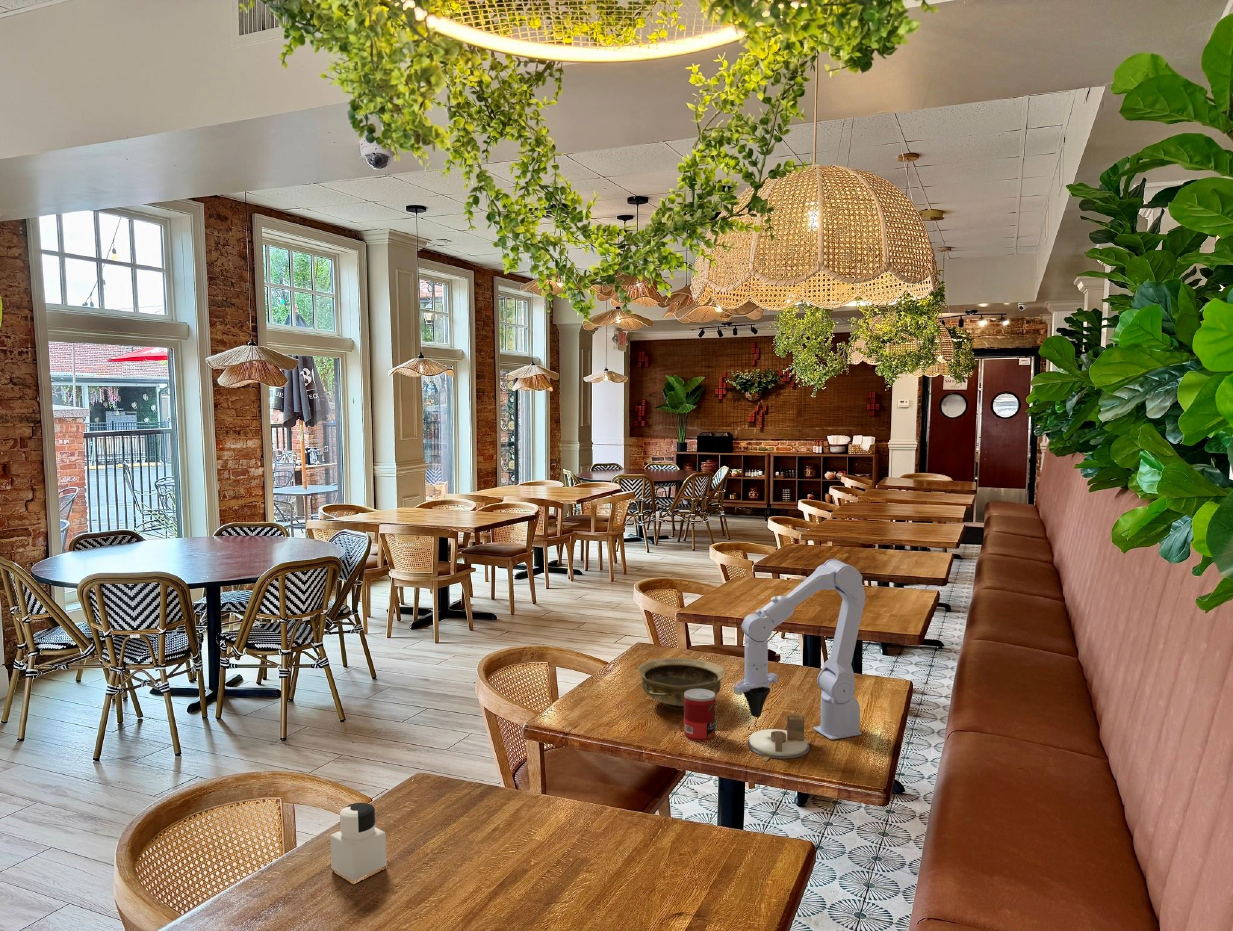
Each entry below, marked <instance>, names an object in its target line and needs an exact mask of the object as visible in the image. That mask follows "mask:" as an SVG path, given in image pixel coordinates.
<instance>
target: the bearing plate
mask: <svg viewBox="0 0 1233 931" xmlns="http://www.w3.org/2000/svg"><path fill="white" fill-rule="evenodd" d="M746 745H747V748H748V749H749V750H750V751H751V752H753V753H754V754H757V755H759V756H762V757H765V756H767V757H770V759H774V760H775V759H777V760H790V759H797V758H801V757H803V756H806V755H807V754H808V753H809V752H810V745H809V743H808V742H807V750H806V751H805V752H803V753H801V754H799V755H795V756H772V755H767V754H763V753H760V752H758V751H756V750H754V749H753V748H752V747H751V746H750V743H749V739H748V740H747V744H746Z"/></svg>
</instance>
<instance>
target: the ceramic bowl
mask: <svg viewBox="0 0 1233 931" xmlns="http://www.w3.org/2000/svg"><path fill="white" fill-rule="evenodd" d="M637 669H638V670H637V672H638V674H639V676H640V677H641V686H642V687H641V688H642V689H643V690H644V692H645V694H647V696H649V697H650V698H652V699H653V700H655V701H658V702H660V703H662V704H665V706H666V707H667V708H669V709H671V710H675V711H684V693H685V691H687V690H690V689H707V690H710V691H713V692H714V693H715V696H716V697H717V695H718V694H719V692H720V691H721V686H722V685H721V684H722V683H721V680H723V679H724V677H726V676H725V675H726V671H725V670H724V669H723V667H721V665H718V664H716V663H715V662H710V661H706V660H701V659H695V658H684V657H667V658H659V659H654V660H650V661H646V662H644V663H642V664H640V666H639V667H638V668H637Z"/></svg>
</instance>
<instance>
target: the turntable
mask: <svg viewBox="0 0 1233 931" xmlns="http://www.w3.org/2000/svg"><path fill="white" fill-rule="evenodd" d="M748 740H749V743H750V746H751V747H752V748H753V749H754V750H756V751H758V752H760V753H763V754H767V755H772V756H795V755H799V754H801V753H803V752H805V751H806V750H807V743H808V739H807V738H806V737H804V741H798V740H787V729H777V728H776V729H775V728H773V729H772V728H770V729H769V728H768V729H761V730H758V731H755V732H753V733H752V734H751V735H749V739H748Z"/></svg>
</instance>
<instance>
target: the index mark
mask: <svg viewBox="0 0 1233 931" xmlns="http://www.w3.org/2000/svg"><path fill="white" fill-rule="evenodd" d="M770 759H771V758H770V757H767V756H763V758H762V759H761V761H762V762H768V761H769V760H770Z"/></svg>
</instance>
